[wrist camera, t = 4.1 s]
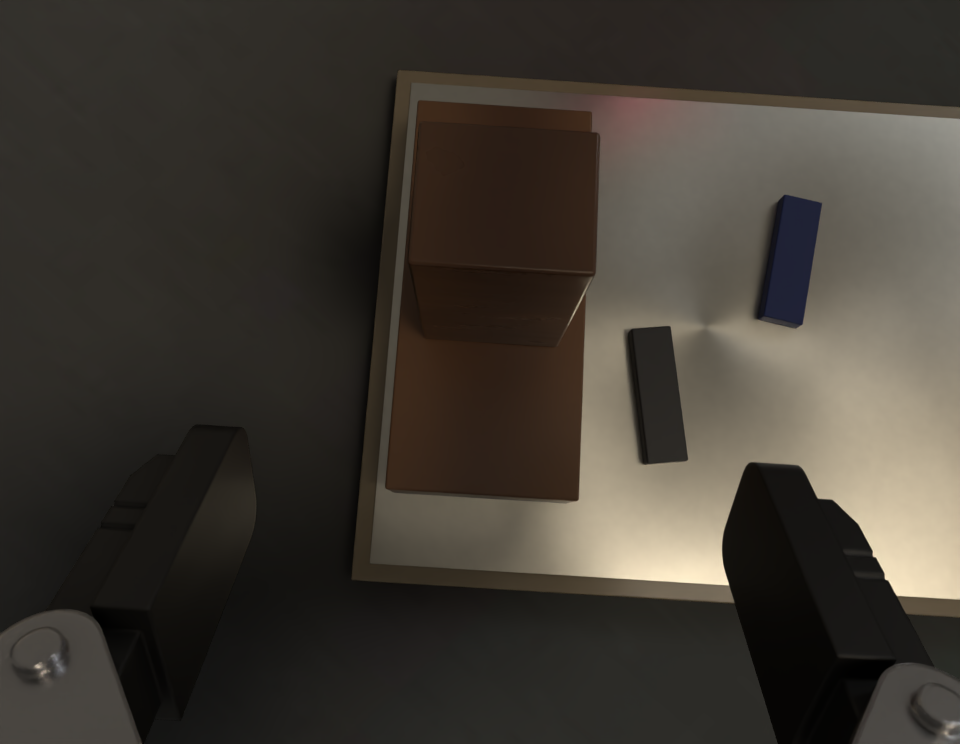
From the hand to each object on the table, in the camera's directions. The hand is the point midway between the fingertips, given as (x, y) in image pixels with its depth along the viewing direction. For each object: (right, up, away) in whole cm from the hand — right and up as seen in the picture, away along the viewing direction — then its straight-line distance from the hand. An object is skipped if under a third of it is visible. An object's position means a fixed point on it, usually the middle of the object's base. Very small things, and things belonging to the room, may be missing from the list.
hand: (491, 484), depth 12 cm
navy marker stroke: (+9, +5, +11) cm, 15 cm away
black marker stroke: (+5, +1, +10) cm, 11 cm away
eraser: (0, +4, +11) cm, 11 cm away
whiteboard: (+7, +3, +12) cm, 14 cm away
